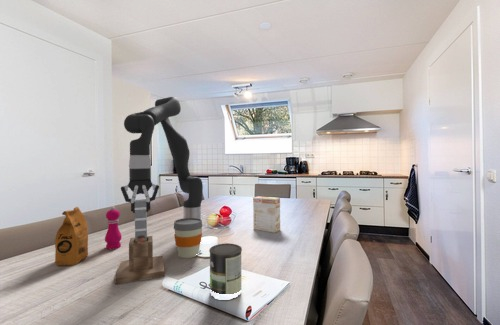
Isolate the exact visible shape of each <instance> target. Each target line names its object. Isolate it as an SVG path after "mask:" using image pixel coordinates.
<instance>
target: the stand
mask: <svg viewBox="0 0 500 325" xmlns="http://www.w3.org/2000/svg"><path fill="white" fill-rule="evenodd" d="M153 239H154V238H153V235H147V241H144V237H142V238H137V242H135V237H130V239H129V243H128V259H127V260H121V261H120V263H119V265H118V269H117V272H116V275H115V279H114V280H115V282H114V283H115V285H118V284H125V283H132V282H137V281H143V280H144V281H145V280H149V279H156V278H162V277H165V263H164V255H157V256H154V252H153V250H154V248H153V247H154V246H153V244H154V243H153V241H154V240H153Z"/></svg>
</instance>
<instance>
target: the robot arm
mask: <svg viewBox="0 0 500 325" xmlns="http://www.w3.org/2000/svg"><path fill="white" fill-rule="evenodd" d="M180 113H181V104H180V101H179V99H178V98H177V97H175V96H168V97H164V98H163V97H162V98H160V99H159V98H158V99H156V101H155V102H154V106H152V107H150V108H148V109H146V110H143V111H139V112H134V113H131V114H128V115H127V116H126V118H125V119H124V121H123V126H124V129H125V131H126V132H128V133H130V134H140V136H139V137H138V138H135V139H133V140H130V142H129V162H128V170H129V174H128V176H129V178H128V179H129V181H128V183H127V184H126V185H123V186H120V191H121V193H122V195H123V198H124V200H125V202H126V203H129V204H130V211H131V213H133V214H135V200H136V197H137V195H144V197H145V199H146V200H147V202H146V212H147V213H149V211H150V210H151V202H152V201H156V198H157V194H158V192H159V188H160V185H159V184H155V183H153V182H152V170H151V169H152V164H151V163H152V161H151V156H150V155H151V154H150V153H151V148H150V147H151V141H152V137H153V135H154V134H153V133H154V130H155V126H156V125H158V124H159V123H160V124H161V127H162V129H163V132H164V136H165V137H166V141H167V144H168V148H169V151H170V155H171V157H172V160H173V163H174V168H175V170H176V174H177V180H178V183H179V188H180V191H181V192H183V193H185V194H188V198H187V199H185V200H184V201H183V203H182V204H183V209H182V210H183V218H182V219H184V218H198V219H201V220H202V201H203V190H204V189H203V188H204V186H203V181H202V179H201V178H200V177H198V176H192V175H191V174H190V170H189V160H190V149H189V144H188V142H187V139H186V138H185V137H184V135H182V134H181V133H180V132H179V131H178V130H177V129H176V128H175V127H174V126H173V124H172V123H171V121H170V119H169V118H171V117H175V116H177V115H179V114H180ZM151 188H152V190H153V193H152V196H151V197H150V195H149V191H150V189H151ZM129 189H130V191H132V194H131V197H130V196H129V194H128V190H129ZM201 232H202V233H203V227H202V228H201ZM201 237H202V238H203V235H202V236H201Z"/></svg>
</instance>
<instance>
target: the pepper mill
mask: <svg viewBox="0 0 500 325" xmlns="http://www.w3.org/2000/svg"><path fill="white" fill-rule="evenodd" d="M120 216H121V214H120V211H119V210H118V209H116V207H115V206H113V205H112V206H110V209H109V210H108V211H107V212H106V213H105V218H106V219H107V221H106V222H107V225H108V226H107V227H108V228H107V231H106V234H105V236H104V242H105V243H106V245H105V248H106V250H115V249H119V248H120V247H121V244H122V243H121V240H122V237H123V236H122V233H121V231H120V229H119V222H120V221H119V218H120Z"/></svg>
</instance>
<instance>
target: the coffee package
mask: <svg viewBox="0 0 500 325" xmlns="http://www.w3.org/2000/svg"><path fill="white" fill-rule="evenodd" d="M61 214H62V216H65V217H64V219H63V222H62V224H61V225H60V226H59V228H58V230H57V231H56V233H55V237H54V238H55V239H54V245H55V246H54V248H55V250H54V251H55V255H54V256H55V257H54V258H55V259H54V260H55V261H54V263H55V264H56V266H58V267H60V266H74V265H78V264H79V263H80V262H81V261H84V260H86V258H87V256H88V255H89V230H88V229H89V228H88V223H87V219H86V217H85V215H84V214H83V212H82V211H81V210H80V208H79V206H75V207H74V208H73V209H72V210H65V211H63V212H62V213H61Z"/></svg>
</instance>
